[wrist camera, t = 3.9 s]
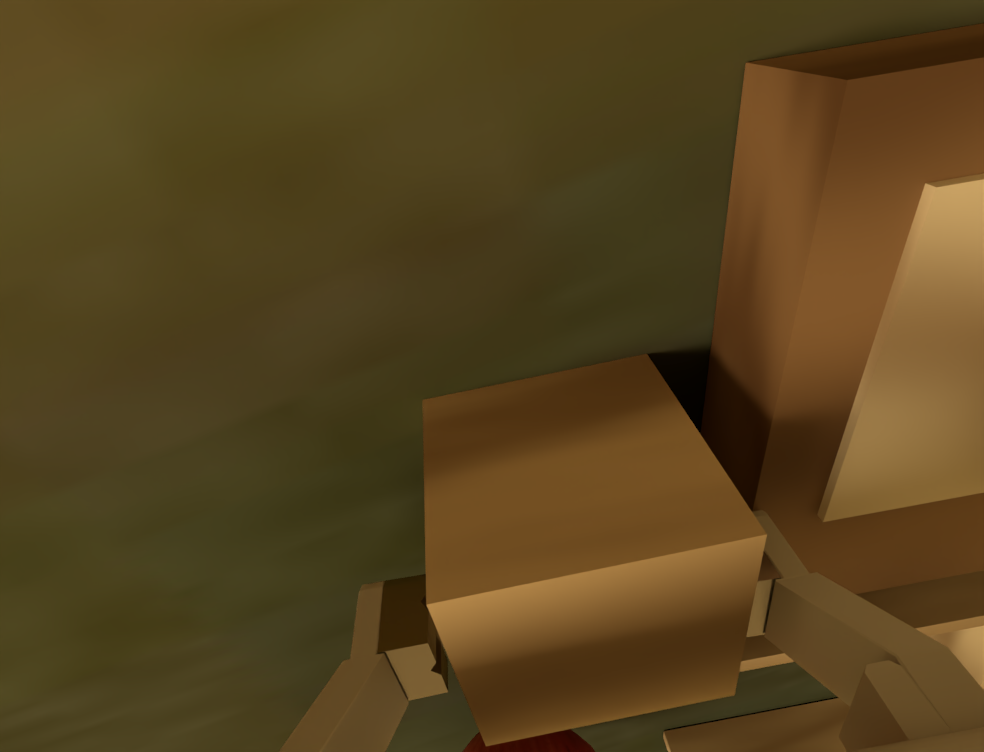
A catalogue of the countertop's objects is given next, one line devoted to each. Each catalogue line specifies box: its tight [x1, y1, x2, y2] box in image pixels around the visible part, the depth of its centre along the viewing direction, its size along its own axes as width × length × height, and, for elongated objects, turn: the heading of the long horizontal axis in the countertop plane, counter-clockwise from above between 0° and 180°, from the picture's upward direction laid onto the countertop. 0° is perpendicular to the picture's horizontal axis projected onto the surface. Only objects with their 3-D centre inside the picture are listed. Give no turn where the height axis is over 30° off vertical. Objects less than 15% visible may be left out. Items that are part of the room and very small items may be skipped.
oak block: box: [423, 354, 767, 746], centre depth 11 cm, size 5×5×5 cm
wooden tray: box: [663, 23, 984, 752], centre depth 15 cm, size 26×10×3 cm, turn 8°
